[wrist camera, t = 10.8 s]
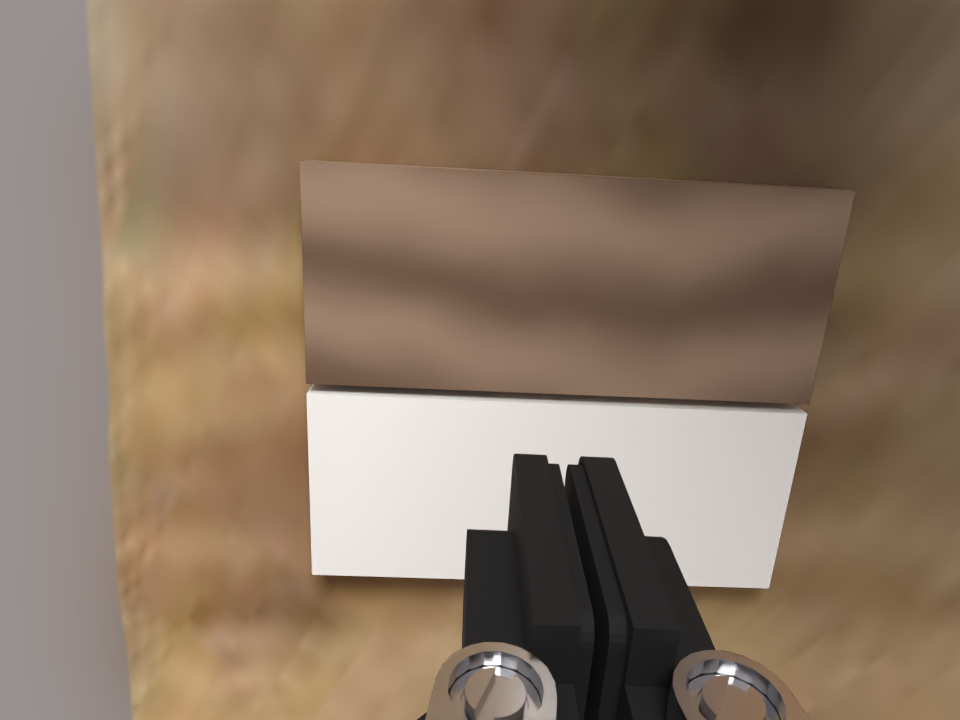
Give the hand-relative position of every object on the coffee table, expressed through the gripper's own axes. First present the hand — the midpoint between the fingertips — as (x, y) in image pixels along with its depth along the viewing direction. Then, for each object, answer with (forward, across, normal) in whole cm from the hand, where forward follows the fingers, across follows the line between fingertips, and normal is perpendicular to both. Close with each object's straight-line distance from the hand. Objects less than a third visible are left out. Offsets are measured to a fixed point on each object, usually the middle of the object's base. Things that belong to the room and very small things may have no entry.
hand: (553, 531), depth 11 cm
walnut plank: (+22, -3, +1) cm, 22 cm away
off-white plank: (+21, -3, +12) cm, 24 cm away
